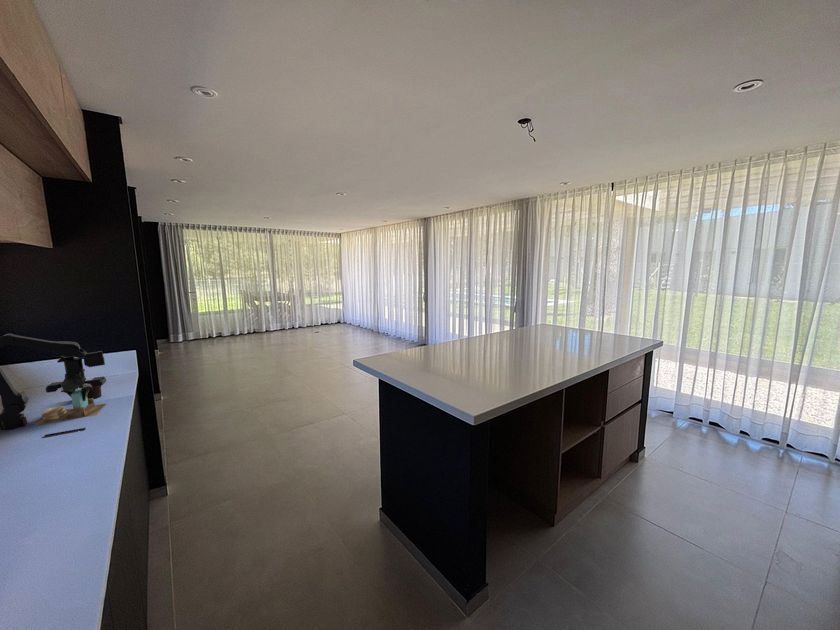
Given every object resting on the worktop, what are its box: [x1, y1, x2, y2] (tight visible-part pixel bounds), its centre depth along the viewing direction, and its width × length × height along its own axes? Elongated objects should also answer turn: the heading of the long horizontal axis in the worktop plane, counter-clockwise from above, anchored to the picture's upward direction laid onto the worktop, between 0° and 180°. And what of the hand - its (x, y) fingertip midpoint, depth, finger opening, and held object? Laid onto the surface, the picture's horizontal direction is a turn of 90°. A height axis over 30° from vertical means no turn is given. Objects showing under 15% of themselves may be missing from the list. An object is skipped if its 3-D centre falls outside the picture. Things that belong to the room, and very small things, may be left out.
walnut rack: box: [34, 398, 108, 426], centre depth 153 cm, size 20×14×6 cm
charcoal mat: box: [42, 427, 86, 439], centre depth 143 cm, size 12×11×1 cm
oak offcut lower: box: [42, 408, 66, 421], centre depth 150 cm, size 5×7×2 cm
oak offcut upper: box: [41, 405, 66, 418], centre depth 150 cm, size 5×7×2 cm
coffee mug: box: [79, 378, 102, 400], centre depth 169 cm, size 12×9×10 cm
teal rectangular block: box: [70, 388, 88, 409], centre depth 154 cm, size 2×8×9 cm, turn 28°
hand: (80, 401), depth 154 cm, fingers closed on teal rectangular block, 2 cm apart
